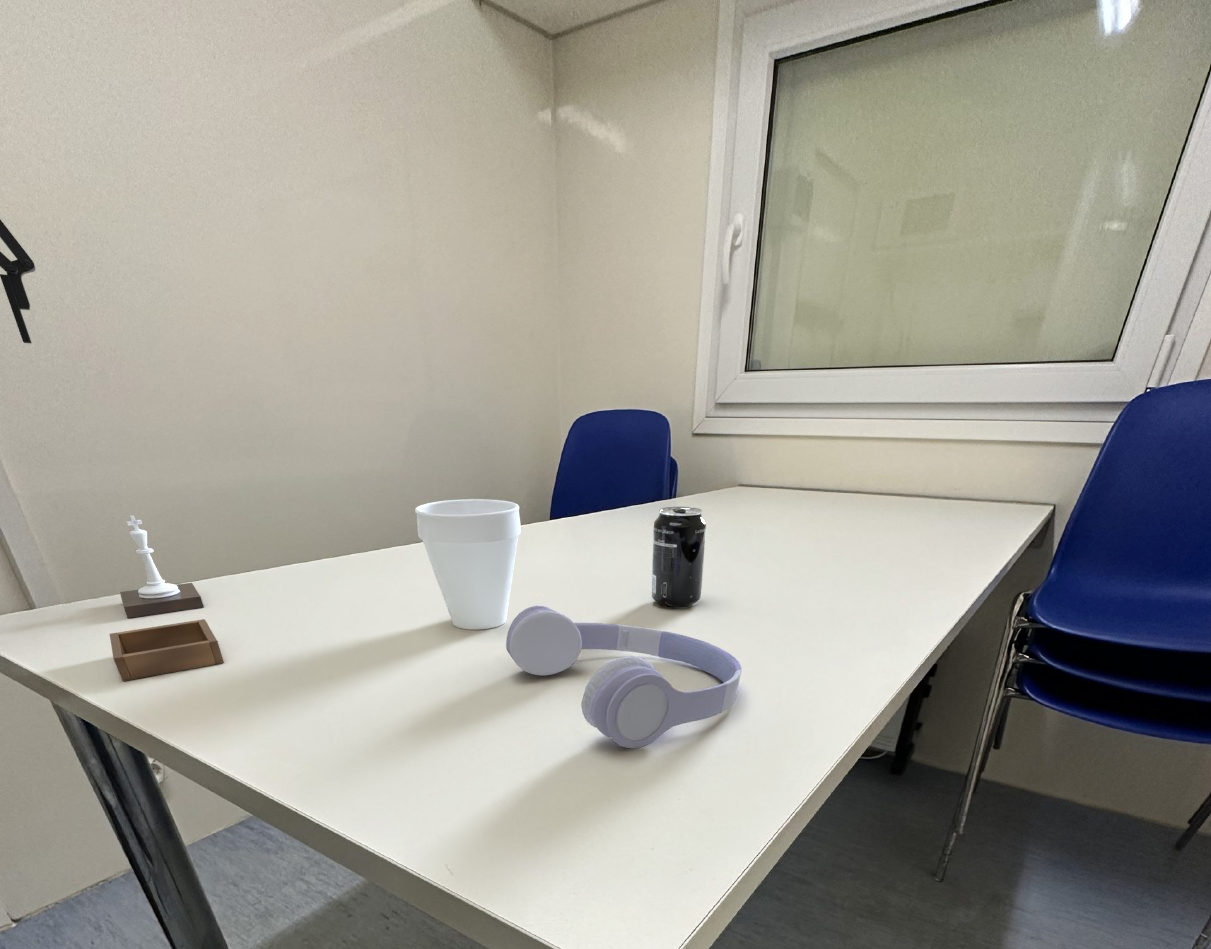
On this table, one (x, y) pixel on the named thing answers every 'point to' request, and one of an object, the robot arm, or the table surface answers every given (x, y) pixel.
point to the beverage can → (678, 556)
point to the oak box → (164, 649)
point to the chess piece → (150, 566)
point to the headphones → (625, 673)
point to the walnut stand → (161, 602)
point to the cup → (472, 556)
